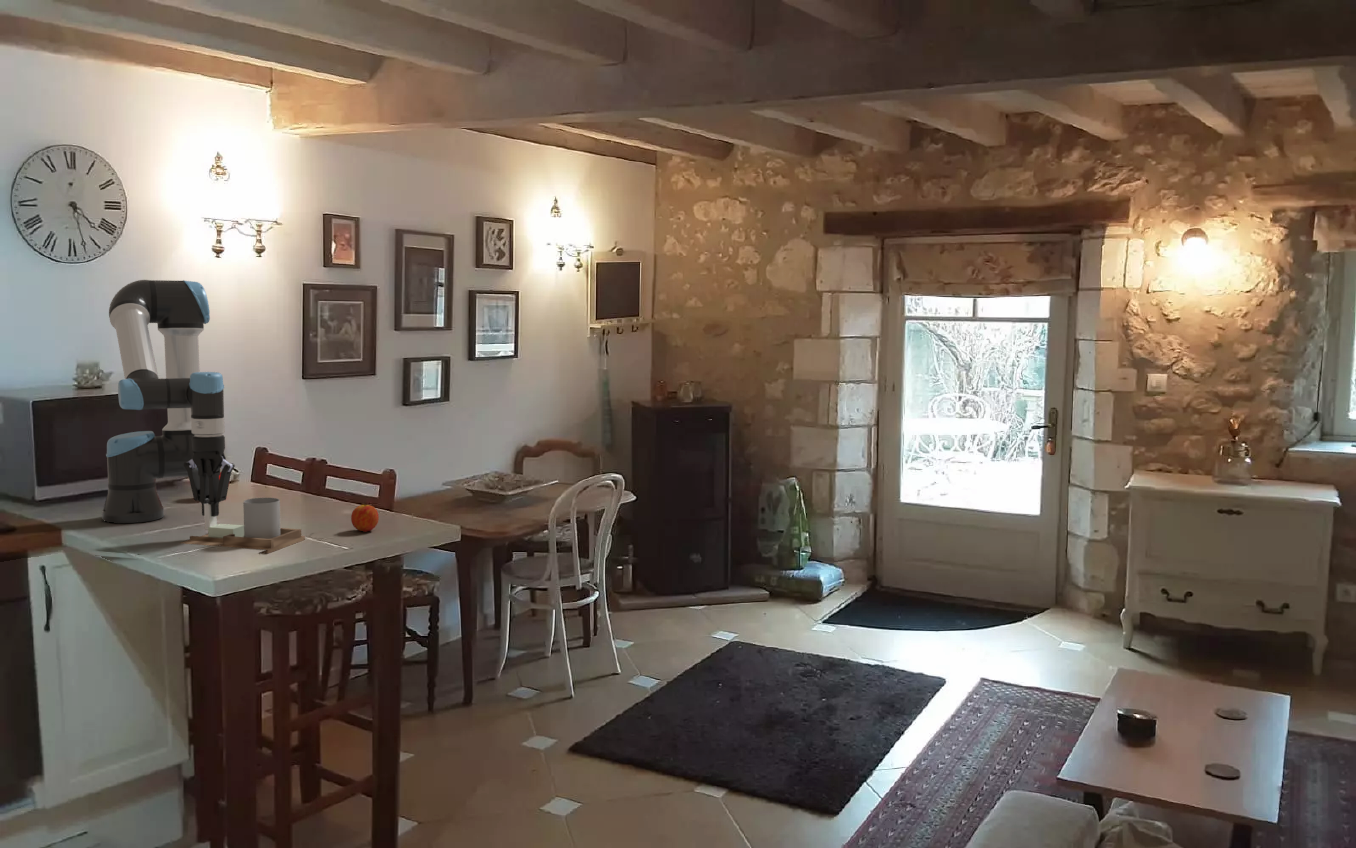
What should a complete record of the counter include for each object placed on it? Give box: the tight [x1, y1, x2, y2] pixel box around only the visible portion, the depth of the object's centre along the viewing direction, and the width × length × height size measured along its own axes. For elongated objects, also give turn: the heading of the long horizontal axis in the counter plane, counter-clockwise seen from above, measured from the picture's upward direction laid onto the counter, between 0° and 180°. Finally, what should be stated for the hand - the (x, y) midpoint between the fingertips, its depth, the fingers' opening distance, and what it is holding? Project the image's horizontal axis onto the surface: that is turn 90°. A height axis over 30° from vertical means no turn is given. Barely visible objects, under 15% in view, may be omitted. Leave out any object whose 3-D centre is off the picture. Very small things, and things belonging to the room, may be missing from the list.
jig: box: [180, 527, 306, 555], centre depth 268 cm, size 24×16×3 cm, turn 77°
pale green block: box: [207, 523, 244, 538], centre depth 269 cm, size 7×4×3 cm, turn 77°
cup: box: [242, 497, 281, 539], centre depth 267 cm, size 8×8×10 cm
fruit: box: [350, 500, 380, 533], centre depth 285 cm, size 7×7×8 cm
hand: (210, 529), depth 270 cm, fingers closed
